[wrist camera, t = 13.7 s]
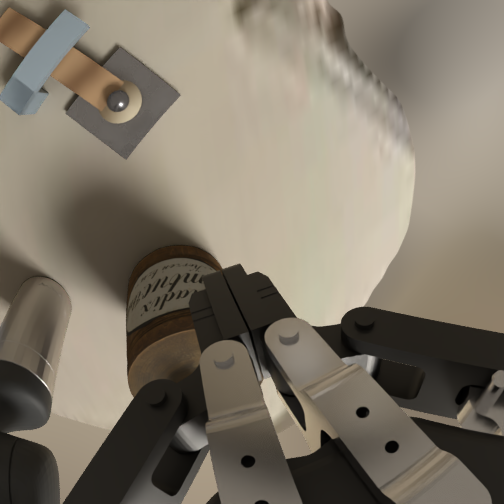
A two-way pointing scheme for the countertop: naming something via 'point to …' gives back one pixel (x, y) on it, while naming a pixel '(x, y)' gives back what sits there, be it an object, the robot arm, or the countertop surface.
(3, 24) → the link
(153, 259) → the wooden container
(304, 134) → the countertop surface
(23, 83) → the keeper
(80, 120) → the pivot base
